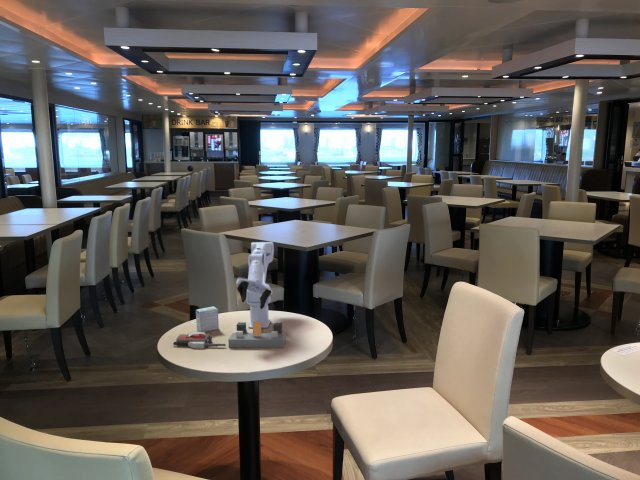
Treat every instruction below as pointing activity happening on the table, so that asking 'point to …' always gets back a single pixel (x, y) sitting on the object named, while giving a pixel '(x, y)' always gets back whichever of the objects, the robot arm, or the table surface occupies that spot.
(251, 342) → the power strip
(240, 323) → the plug
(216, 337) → the table surface
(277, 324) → the plug
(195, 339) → the walkie-talkie
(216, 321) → the medicine box
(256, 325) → the orange rectangular block
